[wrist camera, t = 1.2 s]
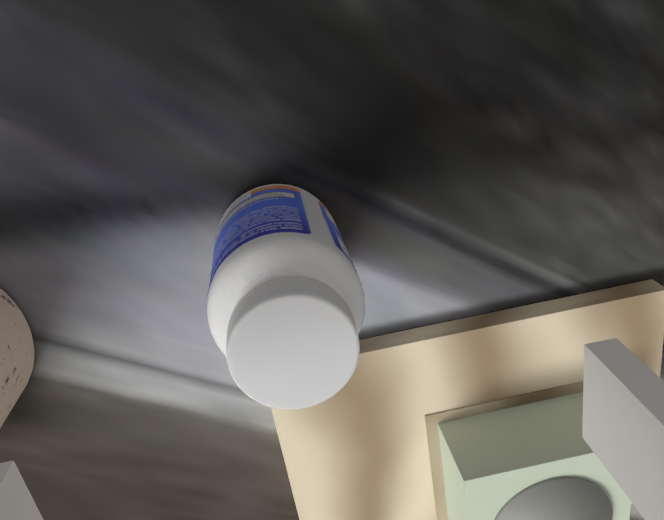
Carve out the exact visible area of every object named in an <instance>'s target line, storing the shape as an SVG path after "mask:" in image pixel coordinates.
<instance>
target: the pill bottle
mask: <svg viewBox="0 0 664 520" xmlns="http://www.w3.org/2000/svg"><path fill="white" fill-rule="evenodd" d="M364 314H365V297H364V292H363V287H362V284H361V282H360V279H359V277H358V274H357V272H356V269H355V267H354V265H353V262H352V260H351V258H350V256H349V253H348V251H347V249H346V247H345V245H344V242H343V240H342V238H341V235H340V233H339V230H338V228H337V225H336V223H335V221H334V219H333V217H332V215H331V214H330V212H329V211H328V209H327V208H326V207H325V206H324V205H323V203H322V202H321V201H319V200H318V199H317V198H316V197H315V196H314V195H312V194H311V193H309V192H307V191H305V190H303V189H301V188H298V187H296V186H292V185H286V184H270V185H264V186H260V187H257V188H254V189H252V190H250V191H248V192H246V193H244V194H243V195H241V196H240V197H239V198H237V199H236V200H235V201H234V202H233V203H232V204H231V205H230V206H229V207H228V209H227V210H226V211H225V213H224V215H223V216H222V218H221V221H220V223H219V226H218V230H217V234H216V240H215V247H214V255H213V263H212V271H211V279H210V286H209V292H208V302H207V317H208V323H209V327H210V331H211V334H212V336H213V338H214V340H215V342H216V344H217V345H218V347H219V349H220V350H221V351H222V352H223V354H224V355H225V356H226V357H227V363H228V367H229V370H230V373H231V375H232V377H233V379H234V380H235V382H236V384H237V385H238V386H239V388H240V389H241V390H242V391H243V392H244V393H245V394H247V395H248V396H249V397H251V398H252V399H254V400H255V401H257V402H259V403H261V404H264V405H266V406H270V407H274V408H279V409H300V408H306V407H310V406H313V405H317V404H318V403H321V402H323V401H325V400H327V399H329V398H330V397H332V396H333V395H335V394H336V393H337V392H338V391H340V390H341V389H342V388H343V387H344V385H345V384H346V383H347V382H348V381H349V380H350V378H351V376H352V375H353V373H354V371H355V368H356V366H357V363H358V359H359V353H360V342H359V336H358V335H359V332H360V330H361V327H362V324H363V320H364Z"/></svg>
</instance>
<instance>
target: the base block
mask: <svg viewBox="0 0 664 520" xmlns="http://www.w3.org/2000/svg"><path fill="white" fill-rule="evenodd" d="M582 429H583V392H580V393H575V394H571V395H566V396H562V397H557V398H552V399H548V400H543V401H539V402H534V403H529V404H525V405H520V406H515V407H511V408H506V409H502V410H497V411H492V412H488V413H483V414H479V415H474V416H469V417H465V418H460V419H455V420H451V421H446V422H442V423H438V430H439V440H440V449H441V458H442V468H443V477H444V486H445V495H446V505H447V514H448V520H629V518H630V504H631V501H630V499H629V498H628V497H627V496H626V494H625V493H624V492H623V490H622V489H621V488H620V486H619V485H618V484H617V482H616V481H615V480H614V478H613V477H612V476H611V474H610V473H609V472H608V470H607V469H606V468H605V466H604V465H603V464H602V462H601V461H600V460H599V458H598V457H597V456H596V455H595V453H594V452H593V451H592V449H591V448H590V447H589V445H588V444H587V443H586V441H585V440H584V439H583V437H582Z"/></svg>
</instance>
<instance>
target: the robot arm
mask: <svg viewBox="0 0 664 520" xmlns="http://www.w3.org/2000/svg"><path fill="white" fill-rule="evenodd" d="M582 437H583V439H584V440H585V441H586V443H587V444H588V445H589V447H590V448H591V449H592V451H593V452H594V453H595V455H596V456H597V457H598V458H599V460H600V461H601V462H602V464H603V465H604V466H605V468H606V469H607V470H608V472H609V473H610V474H611V476H612V477H613V478H614V480H615V481H616V482H617V484H618V485H619V486H620V488H621V489H622V490H623V492H624V493H625V494H626V496H627V497H628V498H629V499H630V501H631V502H632V503H633V505H634V506H635V507H636V509H637V510H638V511H639V513H640V514H641V515H642V517H643V518H644V519H645V520H664V381H663V380H662V379H661V378H660V377H659V376H658V375H656V374H655V373H654V372H653V371H652V370H651V369H650V368H649V367H648V366H647V365H646V364H644V363H643V362H642V361H641V360H640V359H639V358H638V357H637V356H636V355H635V354H634V353H632V352H631V351H630V350H629V349H628V348H627V347H626V346H625V345H624V344H623V343H622V342H620V341H619V340H618V339H617V338H613V339H608V340H603V341H598V342H593V343H588V344H584V384H583V429H582ZM0 520H43V518H42V516H41V514H40V512H39V510H38V508H37V506H36V504H35V502H34V500H33V498H32V496H31V494H30V492H29V490H28V488H27V486H26V484H25V482H24V480H23V478H22V476H21V474H20V472H19V470H18V468H17V466H16V464H15V462H14V461H9V462H4V463H0Z"/></svg>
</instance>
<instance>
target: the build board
mask: <svg viewBox="0 0 664 520" xmlns="http://www.w3.org/2000/svg"><path fill="white" fill-rule="evenodd" d="M663 337H664V287H663V286H662V285H660V284H659V283H657V282H656V281H654V280H653V279H650V280H646V281H641V282H636V283H631V284H626V285H621V286H617V287H612V288H607V289H602V290H597V291H593V292H588V293H583V294H578V295H573V296H568V297H564V298H559V299H554V300H549V301H544V302H540V303H535V304H530V305H525V306H520V307H515V308H511V309H506V310H501V311H496V312H491V313H487V314H482V315H477V316H472V317H467V318H462V319H458V320H453V321H448V322H443V323H438V324H434V325H429V326H424V327H419V328H414V329H409V330H405V331H400V332H395V333H390V334H385V335H381V336H376V337H371V338H366V339H361V340H359V342H360V353H359V359H358V363H357V366H356V368H355V371H354V373H353V375H352V376H351V378H350V380H349V381H348V382H347V383H346V384H345V385H344V387H343V388H342V389H341V390H340V391H338V392H337V393H336V394H335V395H333V396H332V397H330V398H329V399H327V400H325V401H323V402H321V403H318V404H317V405H313V406H310V407H306V408H300V409H279V408H274V407H271V409H272V413H273V417H274V421H275V425H276V429H277V433H278V437H279V441H280V445H281V449H282V453H283V457H284V460H285V464H286V468H287V472H288V476H289V480H290V484H291V488H292V492H293V496H294V500H295V504H296V508H297V512H298V516H299V520H448V514H447V505H446V495H445V486H444V477H443V468H442V458H441V449H440V440H439V430H438V423H442V422H446V421H451V420H455V419H460V418H465V417H469V416H474V415H479V414H483V413H488V412H492V411H497V410H502V409H506V408H511V407H515V406H520V405H525V404H529V403H534V402H539V401H543V400H548V399H552V398H557V397H562V396H566V395H571V394H575V393H580V392H583V384H584V344H588V343H593V342H598V341H603V340H608V339H613V338H617V339H618V340H619V341H620V342H622V343H623V344H624V345H625V346H626V347H627V348H628V349H629V350H630V351H631V352H632V353H634V354H635V355H636V356H637V357H638V358H639V359H640V360H641V361H642V362H643V363H644V364H646V365H647V366H648V367H649V368H650V369H651V370H652V371H653V372H654V373H655V374H656V375H658V376H659V377H660V372H661V360H662V349H663ZM631 504H633V503H632V502H631Z"/></svg>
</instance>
